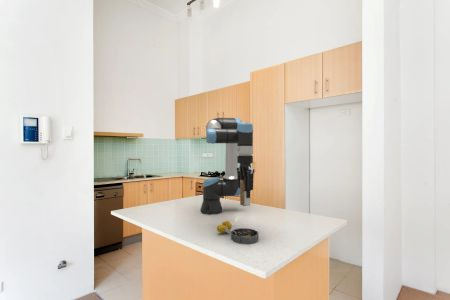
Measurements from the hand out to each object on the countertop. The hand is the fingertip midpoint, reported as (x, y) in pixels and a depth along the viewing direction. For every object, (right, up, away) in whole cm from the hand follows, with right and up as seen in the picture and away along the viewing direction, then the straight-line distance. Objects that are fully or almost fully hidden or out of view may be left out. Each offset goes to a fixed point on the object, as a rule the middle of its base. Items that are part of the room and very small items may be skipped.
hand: (245, 203), depth 118 cm
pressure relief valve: (-7, -17, +6) cm, 19 cm away
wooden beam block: (0, -1, 0) cm, 1 cm away
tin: (0, -17, 0) cm, 17 cm away
